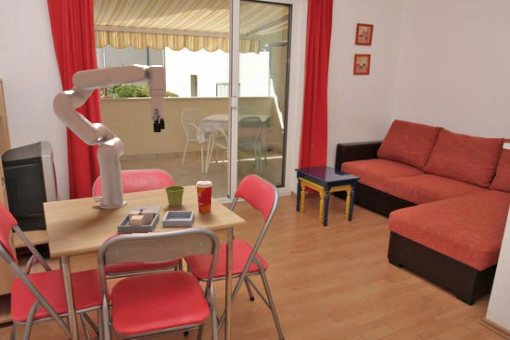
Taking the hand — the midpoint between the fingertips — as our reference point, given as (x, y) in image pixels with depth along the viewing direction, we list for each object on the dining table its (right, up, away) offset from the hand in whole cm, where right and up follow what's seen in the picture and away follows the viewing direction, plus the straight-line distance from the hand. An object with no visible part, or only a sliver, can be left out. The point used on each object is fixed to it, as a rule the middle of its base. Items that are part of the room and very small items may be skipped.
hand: (159, 130), depth 188 cm
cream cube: (-4, -42, -21) cm, 48 cm away
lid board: (-7, -38, -2) cm, 39 cm away
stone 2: (-1, -41, -14) cm, 43 cm away
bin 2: (+12, -41, -13) cm, 45 cm away
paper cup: (+21, -38, +1) cm, 44 cm away
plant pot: (+6, -36, +9) cm, 37 cm away
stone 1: (-7, -41, -14) cm, 44 cm away
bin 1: (-4, -42, -18) cm, 46 cm away
